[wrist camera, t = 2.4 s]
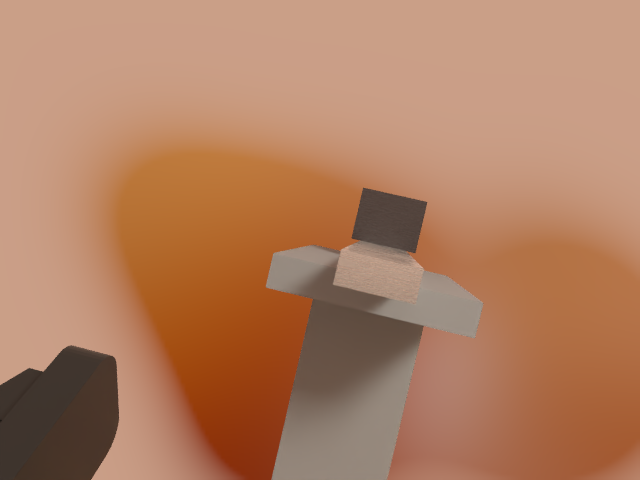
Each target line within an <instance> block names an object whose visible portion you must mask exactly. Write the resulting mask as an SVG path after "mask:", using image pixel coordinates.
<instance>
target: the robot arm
mask: <svg viewBox="0 0 640 480" xmlns="http://www.w3.org/2000/svg"><path fill="white" fill-rule="evenodd" d="M118 421H119V409H118V388H117V366H116V360H115V358H114V357H113V356H110V355H107V354H103V353H99V352H95V351H91V350H87V349H84V348H79V347H76V346H68V347H66V348H65V349H63V350H62V351H61V352H60V353H59V355H58V356H57V357H56V358H55V359H54V360H53V362H52V363H51V364H50V365H49V366H48V367H47V369H46V370H45V371H44V372H42V371H38V370H34V369H30V368H29V369H27V370H25V371H23V372H22V373H20V374H18V375H17V376H15V377H13V378H12V379H10V380H8V381H7V382H5V383H3V384H2V385H0V480H91V479H92V477H93V476H94V474H95V472H96V471H97V469H98V468H99V466H100V464H101V463H102V461H103V460H104V458H105V456H106V455H107V453H108V451H109V449H110V447H111V445H112V443H113V440H114V437H115V434H116V431H117V427H118Z"/></svg>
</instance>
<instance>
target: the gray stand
mask: <svg viewBox="0 0 640 480" xmlns="http://www.w3.org/2000/svg"><path fill="white" fill-rule="evenodd" d="M340 252H341V251H338V250H334V249H329V248H325V247H321V246H316V245H311V246H306V247H301V248H296V249H291V250H287V251H282V252H277V253H274V254H273V258H272V262H271V267H270V271H269V276H268V281H267V285H266V287H267V288H271V289H275V290H279V291H283V292H287V293H291V294H295V295H299V296H304V297H308V298H312V299H313V302H312V306H311V311H310V315H309V319H308V324H307V328H306V332H305V337H304V341H303V345H302V350H301V355H300V358H299V363H298V367H297V371H296V376H295V380H294V384H293V389H292V393H291V398H290V402H289V406H288V411H287V415H286V419H285V424H284V428H283V433H282V437H281V441H280V445H279V450H278V454H277V458H276V463H275V468H274V472H273V476H272V480H387V478H388V473H389V469H390V465H391V461H392V456H393V453H394V448H395V444H396V440H397V436H398V432H399V427H400V423H401V419H402V415H403V410H404V406H405V402H406V398H407V394H408V389H409V385H410V381H411V377H412V373H413V368H414V364H415V360H416V356H417V351H418V347H419V343H420V339H421V335H422V331H423V326H427V327H431V328H435V329H439V330H443V331H447V332H451V333H455V334H460V335H464V336H468V337H472V338H475V336H476V331H477V327H478V323H479V319H480V315H481V311H482V306H483V303H482V302H481V301H480V300H478V299H477V298H475V297H474V296H473V295H472V294H470V293H469V292H468V291H466V290H465V289H464V288H462V287H461V286H460V285H458V284H457V283H455V282H454V281H453V280H451V279H450V278H449V277H447V276H445V275H440V274H436V273H432V272H428V271H423V275H422V279H421V284H420V288H419V292H418V296H417V301H416V305H415V304H411V303H407V302H403V301H399V300H395V299H390V298H386V297H382V296H378V295H374V294H370V293H366V292H361V291H357V290H353V289H349V288H345V287H341V286H336V285H333V282H334V278H335V273H336V269H337V265H338V260H339V256H340Z"/></svg>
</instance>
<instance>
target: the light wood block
mask: <svg viewBox="0 0 640 480" xmlns="http://www.w3.org/2000/svg"><path fill="white" fill-rule="evenodd" d="M426 205H427V202H424V201H420V200H415V199H411V198H406V197H402V196H397V195H393V194H388V193H384V192H380V191H375V190H371V189H366V188H363V191H362V195H361V200H360V204H359V208H358V213H357V217H356V222H355V226H354V230H353V235H352V239H357V240H361V241H359V242H357V243H355V244H353V245H350V246H348V247H346V248H343V249H342V250H341V252H340V256H339V260H338V265H337V269H336V273H335V278H334V282H333V285H336V286H341V287H345V288H349V289H353V290H357V291H361V292H366V293H370V294H374V295H378V296H382V297H386V298H390V299H395V300H399V301H403V302H407V303H411V304H415V305H416V301H417V296H418V292H419V288H420V284H421V279H422V275H423V271H424V269H423V268H422V267H421V266H420V265H419V264H418V263H417V262H416V261H415V260H414V259H413V258H412V257H411V256H410V255H409V254H408V253H407V252H406V251H408V252H413V253H415V252H416V248H417V243H418V239H419V235H420V230H421V227H422V222H423V218H424V214H425V210H426Z"/></svg>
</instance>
